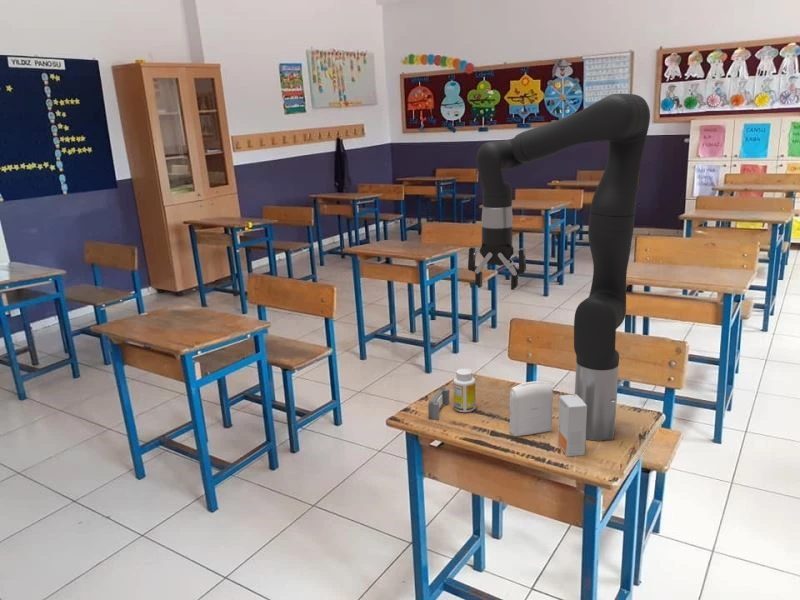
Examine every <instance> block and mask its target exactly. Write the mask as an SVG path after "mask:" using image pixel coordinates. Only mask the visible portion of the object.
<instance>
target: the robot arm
mask: <svg viewBox="0 0 800 600" xmlns="http://www.w3.org/2000/svg"><path fill="white" fill-rule="evenodd" d="M650 121H651V110H650V106H649V104H648V102H647V101H646V100H645V98H643V97H642V96H640V95H638V94H634V93H613V94H609V95H607V96H604V97H602V98H601V99H600V100H597V101H596V102H594V103H592V104H590V105H588V106H587V107H585V108H582V109H581V110H579V111H577V112H575V113H573V114H571V115H569V116H566V117H564V118H561V119H558V120H556V121H551V122H550V123H545V124H542V125H540V126H537V127H533V128H530V129H527V130H525V131H522V132H520V133H518V134H516V135H515V136H514V137H512V138H510V139H509V138H508V139H505V140H496V141H487V142H485V143H483V144H482V145H481V146H480V147H479V149H478V151H477V154H476V168H477V172H478V176H479V180H480V184H481V187H482V212H481V246H480V247H476V245H472V246H471V247H469V249H468V262H467V270H468V271H471V272H473V273H474V275H475V276H474V277H475V282H474V283H475V286H477V288H479V289H481V288H482V287H483V269H484V268H485V267H486V266H487V265H489V266H495V265H496V266H498V267H499V266H500V267H501V266H505V268H506V269H507V270H509V272H510V273H511V275H510V289H511V291H515V289H516V288H517V287H518V286H519V275H522V274H524V273H525V271H526V270H527V265H526V264H527V262H526V259H527V258H526V249H525V247H521V248H514V247H513V227H514V226H513V224H514V219H513V207H512V205H513V188H512V185H511V183H510V182H508V181H504V178H503V173H502V172H503V171H509V170H512V169H515V168H518V167H520V166H522V165H523V166H524V165H525V164H527V163H531V162H532V163H533V162H535V161H538V160H539V161H540V160H542V159H545V158H548V157H551V156H552V157H553V156H554V155H557V154H558V153H561V152H562V151H563V152H564V151H565V150H567V149H568V148H571V147H574V146H577V145H580V144H586V143H593V142H602V141H603V142H604V141H608V152H607V160H606V165H605V168H604V171H603V174H602V176H601V178H600V180H599V183H598V185H597V186H596V189H595V192H594V194H593V197H592V200H591V203H590V208H589V209H590V210H589V217H588V227H587V228H588V229H587V232H588V233H587V234H588V236H587V237H588V243H589V249H590V254H591V259H592V264H593V266H592V267H593V271H592V273H593V274H592V281H591V287H590V291H589V295H588V297H587V298H585V299H584V300H582V301H581V302H580V303H579V304H578V305H577V307H576V309H575V313H574V319H573V348H574V349H573V350H574V353H575V355H576V356H575V357H576V359H575V360H576V361H575V377H574V378H575V381H574V382H575V384H574V395H575V394H577V395H578V396H579V397H580V398H581V399H582V400H583V402H584V403H585V404H586V405H587V419H586V440H590V441H606V440H614V439H615V438H614V437H615V431H616V417H617V416H616V415H617V402H618V380H619V365H620V363H619V362H620V353H619V351H618V350H616V338H617V337H616V336H617V335H616V333H617V329H618V328H619V327H620V326H621V325H622V324H623V322H624V320H625V319H626V315H627V314H626V313H627V273H628V272H627V271H628V265H629V260H630V255H631V247H632V241H633V235H634V228H635V227H634V226H635V219H636V213H637V198H638V190H639V183H640V181H639V180H640V171H641V165H642V159H643V154H644V151H645V150H644V149H645V145H646V141H647V136H648V133H649V132H648V131H649V126H650ZM479 253H480V255H481V256H482V257H483V259H482V260H481V261H480V263H479V264H478V266H477V265H476V256H478V254H479ZM513 255H515V257H516V258H517V259H518V267H517V266H516V264H515V263H514V261H513V259H512V256H513Z"/></svg>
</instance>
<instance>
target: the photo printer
mask: <svg viewBox="0 0 800 600" xmlns="http://www.w3.org/2000/svg"><path fill="white" fill-rule="evenodd" d="M553 396H554V394H553V387H552V385H551V384H550V383H549V382H546V381H540V380H539V381H526V382H522V383H519V384H516V385H515V386H513V387H511V388H510V391H509V433H510V434H511V435H512V436H514V437H521V436H527V435H535V434H540V433H546V432H550V431H552V429H553V408H554V407H553V403H554V402H553V401H554V397H553Z"/></svg>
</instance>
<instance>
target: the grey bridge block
mask: <svg viewBox="0 0 800 600" xmlns="http://www.w3.org/2000/svg"><path fill="white" fill-rule="evenodd" d="M443 404H447V405H446V406H448V404H450V388H442V387H439V389H438V391H437V392H436V394H434V396H433V397H432V398H431V399H430V401H429V402H428V404H427V405H428V406H427V407H428V410H427V411H428V412H427V413H428V415H427V416H428V419H431V420H437V421H438V420H439V419H440V410H441V409H442V408H441V407H444V405H443ZM440 408H441V409H440Z"/></svg>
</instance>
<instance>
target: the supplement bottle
mask: <svg viewBox="0 0 800 600" xmlns="http://www.w3.org/2000/svg"><path fill="white" fill-rule="evenodd" d="M455 372H456V375H455V376H456V377H454V378H453V408H454V410H455V411H457V412H460V413H471V412H472V411H474V410H475V409H476V407H477V406H476V405H477V404H476V379H475V378H474V377H473V371H472V370H471V369H469V368H459V369H457V370H456V371H455Z"/></svg>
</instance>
